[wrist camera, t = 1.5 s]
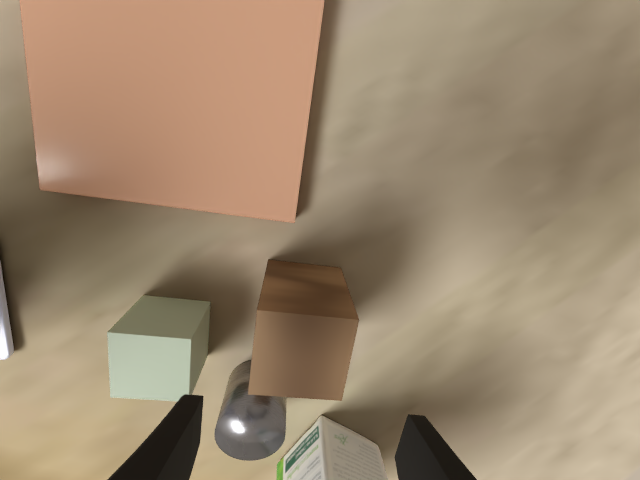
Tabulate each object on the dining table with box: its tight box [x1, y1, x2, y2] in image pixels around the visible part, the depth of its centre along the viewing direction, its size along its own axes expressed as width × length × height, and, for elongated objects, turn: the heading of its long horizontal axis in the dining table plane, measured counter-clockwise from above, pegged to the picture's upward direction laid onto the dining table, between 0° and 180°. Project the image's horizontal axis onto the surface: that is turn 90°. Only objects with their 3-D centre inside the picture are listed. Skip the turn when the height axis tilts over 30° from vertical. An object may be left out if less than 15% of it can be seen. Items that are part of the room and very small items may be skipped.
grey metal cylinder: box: [215, 360, 287, 460], centre depth 20 cm, size 4×4×4 cm
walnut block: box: [248, 259, 359, 401], centre depth 17 cm, size 4×4×6 cm
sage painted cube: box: [107, 295, 211, 401], centre depth 18 cm, size 4×4×4 cm
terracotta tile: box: [20, 0, 325, 223], centre depth 15 cm, size 13×13×1 cm
